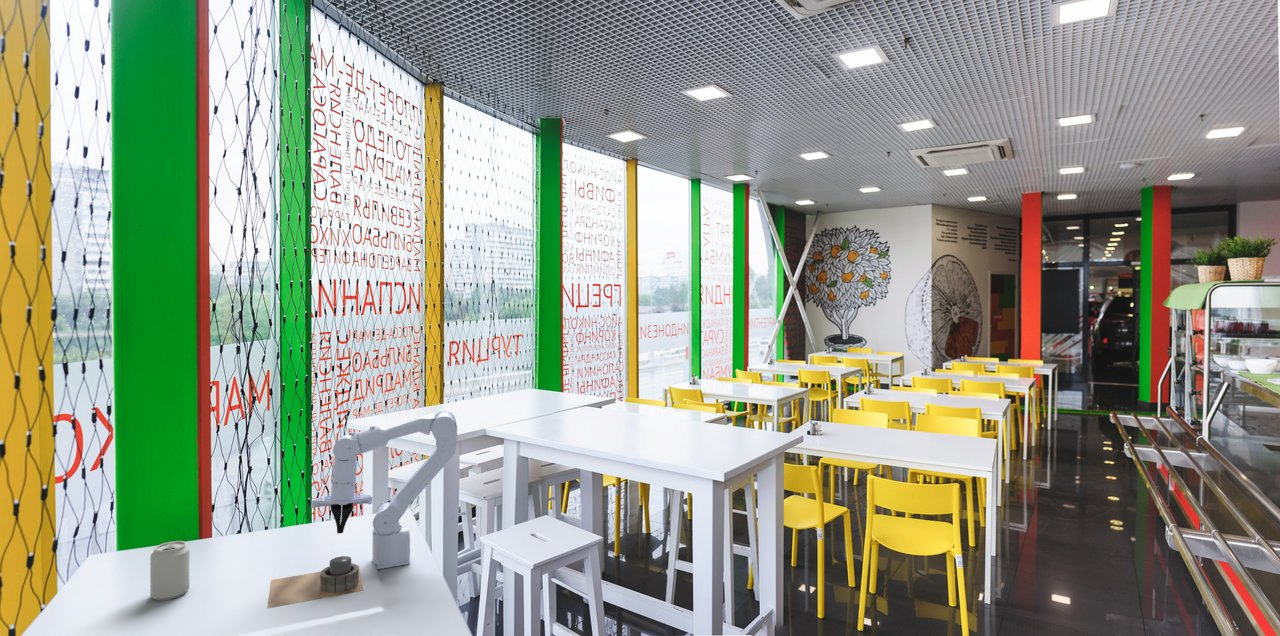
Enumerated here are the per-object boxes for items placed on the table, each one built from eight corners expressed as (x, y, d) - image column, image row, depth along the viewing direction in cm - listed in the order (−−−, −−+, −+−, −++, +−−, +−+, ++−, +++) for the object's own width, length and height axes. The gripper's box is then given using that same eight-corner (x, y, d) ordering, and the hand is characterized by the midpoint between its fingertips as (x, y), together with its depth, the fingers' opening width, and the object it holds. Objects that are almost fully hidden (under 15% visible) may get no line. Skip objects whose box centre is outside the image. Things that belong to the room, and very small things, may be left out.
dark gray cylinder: (351, 578, 156) (351, 555, 156) (350, 586, 151) (350, 562, 151) (330, 581, 154) (330, 557, 154) (328, 590, 149) (329, 565, 149)
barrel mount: (358, 568, 164) (359, 552, 164) (363, 594, 150) (363, 575, 150) (271, 583, 154) (271, 566, 154) (267, 612, 140) (267, 592, 140)
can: (146, 604, 143) (146, 553, 143) (154, 591, 149) (154, 542, 149) (186, 598, 146) (186, 548, 146) (192, 585, 153) (192, 537, 153)
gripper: (313, 487, 157) (309, 540, 157) (374, 483, 164) (370, 534, 164) (313, 479, 164) (309, 530, 164) (372, 476, 170) (368, 525, 170)
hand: (339, 532), depth 164 cm, fingers closed
